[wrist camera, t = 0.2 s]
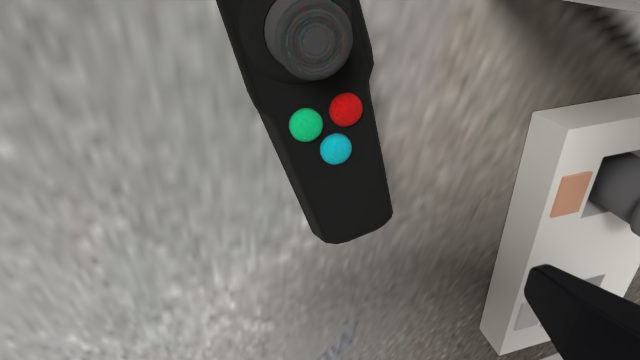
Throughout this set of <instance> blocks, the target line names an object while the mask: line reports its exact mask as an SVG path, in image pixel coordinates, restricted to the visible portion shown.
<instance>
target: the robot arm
mask: <svg viewBox="0 0 640 360" xmlns="http://www.w3.org/2000/svg"><path fill="white" fill-rule="evenodd" d="M524 296H525V298H526V300H527V302H528V304H529V305H530V307H531V309H532V310H533V312H534V313H535V315H536V317H537V318H538V320H539V322H540V323H541V325H542V326H543V328H544V330H545V331H546V333H547V335H548V336H549V338H550V340H551V341H552V343H553V344H554V346H555V348H556V349H557V351H558V352H559V354H560V355H561V356H562V358H563V359H564V360H640V305H638V304H636V303H633V302H631V301H629V300H627V299H625V298H622V297H620V296H618V295H616V294H614V293H611V292H609V291H607V290H605V289H603V288H600V287H598V286H596V285H594V284H592V283H589V282H587V281H585V280H583V279H581V278H578V277H576V276H574V275H572V274H570V273H567V272H565V271H563V270H561V269H559V268H556V267H554V266H552V265H549V264H542V265H539V266H535V267H532V268H531V269H530V271H529V274H528V277H527V280H526V284H525V287H524Z"/></svg>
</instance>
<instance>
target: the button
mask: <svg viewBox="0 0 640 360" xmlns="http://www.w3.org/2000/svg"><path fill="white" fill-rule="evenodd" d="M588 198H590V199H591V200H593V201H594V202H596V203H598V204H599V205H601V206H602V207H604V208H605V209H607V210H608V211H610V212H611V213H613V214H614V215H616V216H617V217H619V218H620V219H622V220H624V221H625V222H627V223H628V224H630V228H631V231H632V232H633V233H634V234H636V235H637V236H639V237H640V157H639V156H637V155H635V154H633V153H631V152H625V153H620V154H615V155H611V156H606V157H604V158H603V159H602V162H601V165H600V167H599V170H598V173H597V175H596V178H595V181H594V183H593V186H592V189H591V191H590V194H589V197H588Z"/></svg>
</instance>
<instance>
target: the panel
mask: <svg viewBox="0 0 640 360" xmlns="http://www.w3.org/2000/svg"><path fill="white" fill-rule="evenodd" d="M625 152H631V153H633V154H635V155H637V156H639V157H640V94H635V95H630V96H624V97H618V98H612V99H606V100H600V101H594V102H588V103H583V104H577V105H571V106H565V107H559V108H553V109H547V110H541V111H536V112H533V113H532V117H531V121H530V125H529V130H528V134H527V138H526V142H525V146H524V150H523V154H522V158H521V162H520V166H519V170H518V174H517V178H516V182H515V186H514V190H513V194H512V198H511V202H510V206H509V210H508V214H507V218H506V222H505V226H504V230H503V234H502V238H501V242H500V246H499V250H498V254H497V258H496V262H495V266H494V270H493V274H492V279H491V283H490V287H489V291H488V295H487V299H486V303H485V307H484V311H483V315H482V319H481V323H480V327H479V329H480V330H481V332H482V333H483V334H484V336H485V337H486V339H487V340H488V341H489V343H490V344H491V345H492V347H493V348H494V350H495V351H496V352H497V354H498V355H499V356H500V355H503V354H507V353H510V352H513V351H517V350H520V349H523V348H527V347H530V346H533V345H536V344H540V343H543V342H546V341H550V338H549V336H548V335H547V333H546V331H545V330H544V328H543V326H542V325H541V323H540V322H539V320H538V318H537V317H536V315H535V313H534V312H533V310H532V309H531V307H530V305H529V304H528V302H527V300H526V298H525V296H524V287H525V284H526V280H527V277H528V274H529V271H530V269H531V268H532V267H535V266H539V265H542V264H549V265H552V266H554V267H556V268H559V269H561V270H563V271H565V272H567V273H570V274H572V275H574V276H576V277H578V278H581V279H583V280H585V281H587V282H589V283H592V284H594V285H596V286H598V287H600V288H603V289H605V290H607V291H609V292H611V293H614V294H616V295H618V296H620V297H622V298H623V296H624V294H625V292H626V290H627V288H628V287H629V285H630V283H631V281H632V279H633V277H634V275H635V273H636V271H637V269H638V267H639V265H640V237H639V236H637V235H636V234H634V233H633V232H632V231H631V228H630V224H628V223H627V222H625V221H624V220H622V219H620V218H619V217H617V216H616V215H614V214H613V213H611V212H610V211H608V210H607V209H605V208H604V207H602V206H601V205H599V204H598V203H596V202H594V201H593V200H591V199H590V198H588V197H589V194H590V191H591V189H592V186H593V183H594V181H595V178H596V175H597V173H598V170H599V167H600V165H601V162H602V159H603V157H606V156H611V155H615V154H620V153H625Z"/></svg>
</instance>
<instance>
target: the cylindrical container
mask: <svg viewBox="0 0 640 360" xmlns="http://www.w3.org/2000/svg"><path fill="white" fill-rule="evenodd" d="M564 1H570V2H577V3H583V4H589V5H595V6H602V7H608V8H614V9H620V10H626V11H633V12H639V13H640V0H564Z"/></svg>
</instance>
